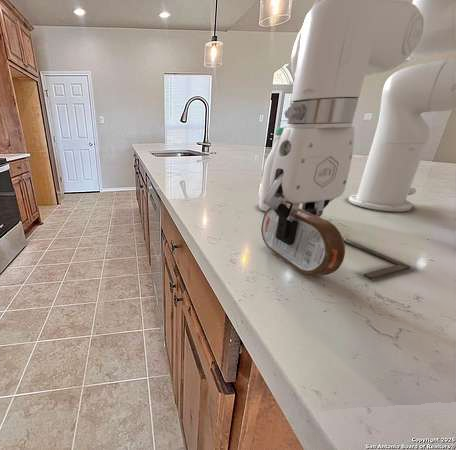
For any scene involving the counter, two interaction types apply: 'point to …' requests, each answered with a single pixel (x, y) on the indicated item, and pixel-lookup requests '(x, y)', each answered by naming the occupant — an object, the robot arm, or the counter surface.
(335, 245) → the tin
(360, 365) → the counter surface
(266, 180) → the milk bottle
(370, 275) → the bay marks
